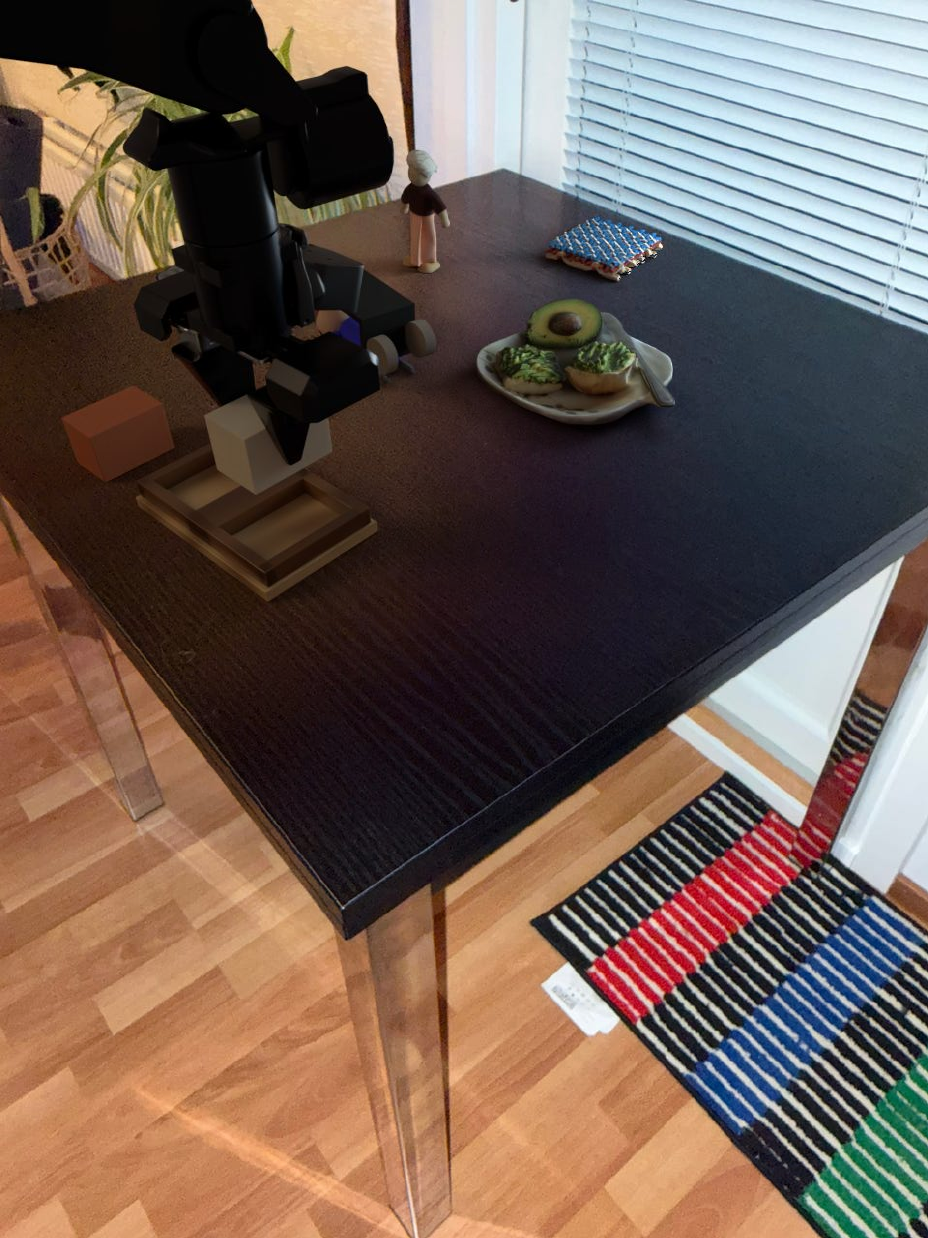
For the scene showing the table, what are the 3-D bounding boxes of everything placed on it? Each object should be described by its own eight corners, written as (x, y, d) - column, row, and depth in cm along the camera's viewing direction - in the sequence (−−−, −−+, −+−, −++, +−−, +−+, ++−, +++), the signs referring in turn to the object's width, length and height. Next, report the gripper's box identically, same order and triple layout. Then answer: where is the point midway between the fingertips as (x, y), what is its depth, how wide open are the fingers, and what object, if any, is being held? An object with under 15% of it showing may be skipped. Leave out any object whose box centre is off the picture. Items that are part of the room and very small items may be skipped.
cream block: (256, 495, 64) (244, 439, 61) (217, 469, 66) (203, 414, 63) (332, 451, 67) (325, 397, 64) (293, 429, 70) (284, 375, 66)
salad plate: (728, 391, 87) (737, 346, 84) (591, 462, 79) (595, 415, 76) (585, 317, 98) (588, 275, 95) (451, 373, 90) (450, 329, 87)
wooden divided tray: (378, 531, 73) (375, 506, 71) (267, 602, 67) (261, 577, 66) (246, 449, 82) (241, 425, 80) (138, 506, 76) (130, 481, 74)
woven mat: (540, 259, 108) (541, 241, 107) (592, 230, 114) (593, 213, 113) (615, 283, 104) (617, 265, 102) (665, 251, 109) (667, 234, 108)
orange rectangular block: (105, 483, 78) (89, 437, 75) (77, 462, 81) (60, 417, 77) (175, 447, 82) (162, 403, 79) (146, 429, 84) (133, 384, 81)
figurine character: (440, 387, 91) (353, 317, 98) (443, 318, 85) (350, 249, 93) (385, 411, 88) (299, 337, 95) (384, 341, 82) (293, 268, 90)
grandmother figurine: (388, 265, 108) (379, 149, 99) (407, 253, 110) (400, 139, 101) (442, 280, 105) (439, 162, 96) (461, 268, 107) (459, 151, 98)
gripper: (437, 228, 55) (445, 451, 65) (244, 157, 64) (279, 363, 75) (290, 292, 49) (325, 524, 60) (101, 204, 58) (162, 419, 69)
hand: (272, 449), depth 66 cm, fingers closed on cream block, 4 cm apart
